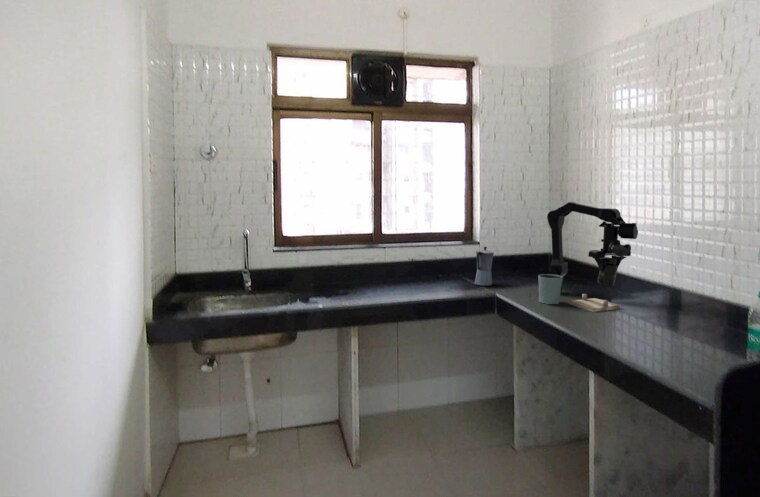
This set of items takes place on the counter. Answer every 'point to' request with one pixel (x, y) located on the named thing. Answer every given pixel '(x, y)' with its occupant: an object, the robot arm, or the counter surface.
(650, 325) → the counter surface
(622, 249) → the robot arm
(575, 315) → the counter surface
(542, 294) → the teal tapered cup
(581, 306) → the locating pad
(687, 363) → the counter surface
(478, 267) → the moka pot
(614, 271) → the supplement bottle
